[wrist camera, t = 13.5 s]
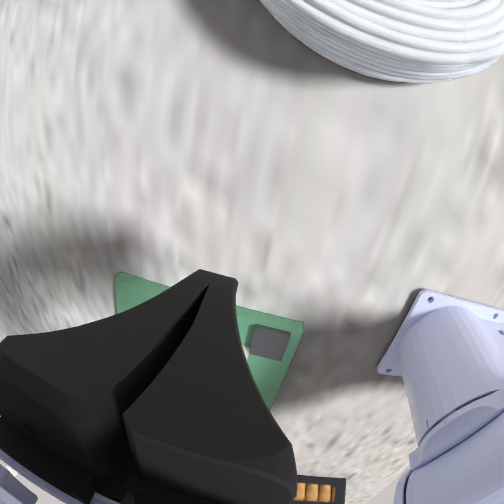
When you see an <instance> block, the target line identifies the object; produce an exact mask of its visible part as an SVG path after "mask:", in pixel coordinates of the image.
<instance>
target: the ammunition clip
mask: <svg viewBox="0 0 504 504" xmlns="http://www.w3.org/2000/svg"><path fill="white" fill-rule="evenodd" d="M345 490H346V478H329V477H315V476H304V475H297V495H296V497H295V498H294V500H293V501H292V502H291V503H289V504H345ZM304 497H305V499H304ZM317 499H318V502H317Z"/></svg>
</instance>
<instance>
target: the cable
mask: <svg viewBox="0 0 504 504" xmlns="http://www.w3.org/2000/svg"><path fill="white" fill-rule="evenodd" d="M260 2H261V3H262V4H263V5H264V6H265V7H266V8H267V9H268V11H269V12H270V13H271V14H272V15H273V17H274V18H275V19H276V20H277V21H278V22H279V23H280V24H281V25H282V26H283V27H284V28H285V29H286V30H287V31H288V32H290V33H291V34H292V35H293V36H295V37H296V38H297V39H298V40H300V41H301V42H302V43H304V44H305V45H306V46H308V47H309V48H310V49H312V50H313V51H315V52H317V53H318V54H320V55H321V56H323V57H325V58H327V59H329V60H331V61H332V62H334V63H336V64H338V65H341V66H343V67H345V68H348V69H350V70H352V71H355V72H358V73H361V74H363V75H367V76H370V77H374V78H378V79H383V80H389V81H396V82H408V83H436V82H443V81H448V80H453V79H457V78H462V77H467V76H471V75H473V74H476V73H478V72H481V71H483V70H484V69H486V68H488V67H489V66H491V65H492V64H493V63H495V62H496V61H497V60H498V59H499V58H500V57H501V56H502V55H504V0H260Z"/></svg>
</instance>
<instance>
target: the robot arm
mask: <svg viewBox="0 0 504 504" xmlns="http://www.w3.org/2000/svg"><path fill="white" fill-rule="evenodd" d="M237 286H238V281H237V280H236V279H235V278H231V277H227V276H224V275H220V274H216V273H212V272H209V271H205V270H201V269H199V270H197V271H196V272H194V273H192V274H191V275H189V276H188V277H186V278H185V279H183V280H181V281H180V282H178V283H177V284H175V285H174V286H172V287H170V288H168V289H167V290H165V291H163V292H162V293H160V294H158V295H157V296H155V297H153V298H151V299H149V300H147V301H145V302H143V303H141V304H139V305H137V306H135V307H133V308H131V309H128V310H126V311H123V312H121V313H118V314H116V315H113V316H111V317H108V318H105V319H101V320H98V321H95V322H91V323H88V324H84V325H81V326H77V327H73V328H68V329H63V330H58V331H52V332H46V333H38V334H27V335H15V336H7V337H6V338H5V339H3V340H2V341H1V342H0V416H1V417H0V459H1V460H2V461H4V462H5V463H6V464H7V465H9V466H10V467H11V468H13V469H14V470H15V471H17V472H18V473H20V474H21V475H22V476H24V477H25V478H26V479H28V480H29V481H31V482H32V483H34V484H35V485H37V486H38V487H40V488H41V489H43V490H44V491H46V492H48V493H49V494H51V495H52V496H54V497H56V498H57V499H59V500H61V501H62V502H64V503H66V504H289V503H291V502H292V501H293V500H294V498H295V497H296V495H297V470H296V463H295V458H294V452H293V448H292V444H291V443H290V441H289V440H288V439H287V437H286V436H285V434H284V433H283V431H282V430H281V428H280V427H279V425H278V424H277V422H276V421H275V419H274V418H273V416H272V414H271V412H270V411H269V409H268V407H267V405H266V403H265V402H264V400H263V398H262V395H261V393H260V391H259V389H258V387H257V385H256V383H255V381H254V378H253V376H252V374H251V371H250V368H249V365H248V363H247V360H246V357H245V353H244V350H243V346H242V343H241V338H240V334H239V329H238V323H237V315H236V291H237ZM429 297H432V298H431V299H430V300H428V298H429ZM494 314H495V315H494ZM503 323H504V310H501V309H497V308H493V307H490V306H486V305H482V304H479V303H475V302H471V301H467V300H464V299H460V298H456V297H452V296H449V295H445V294H441V293H437V292H434V291H430V290H422V291H420V292H419V293H418V295H417V297H416V299H415V301H414V303H413V305H412V307H411V309H410V311H409V313H408V314H407V316H406V318H405V320H404V322H403V324H402V325H401V327H400V329H399V331H398V333H397V334H396V336H395V338H394V340H393V341H392V343H391V345H390V346H389V348H388V350H387V351H386V353H385V355H384V356H383V358H382V360H381V361H380V363H379V364H378V366H377V371H378V373H380V374H385V375H392V376H399V377H403V381H404V385H405V389H406V393H407V397H408V401H409V406H410V410H411V415H412V419H413V424H414V429H415V434H416V439H417V444H418V448H417V449H416V450H414V451H413V452H411V453H410V454H409V460H410V466H411V468H410V469H408V470H407V471H406V472H405V473H404V474H403V475H402V476H401V478H400V479H399V482H398V484H397V487H396V491H395V498H394V504H504V326H503ZM387 369H388V370H387ZM37 500H38V498H37V496H36V495H35V494H34V493H32V492H31V491H30V490H28V489H27V488H26V487H25V486H24V485H22V484H21V483H20V482H19V481H18V480H17V479H16V478H15V477H14V476H12V474H11V473H10V472H9V471H8V470H6V469H5V468H4V467H3V466H2V465H1V464H0V504H35V503H36V501H37Z"/></svg>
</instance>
